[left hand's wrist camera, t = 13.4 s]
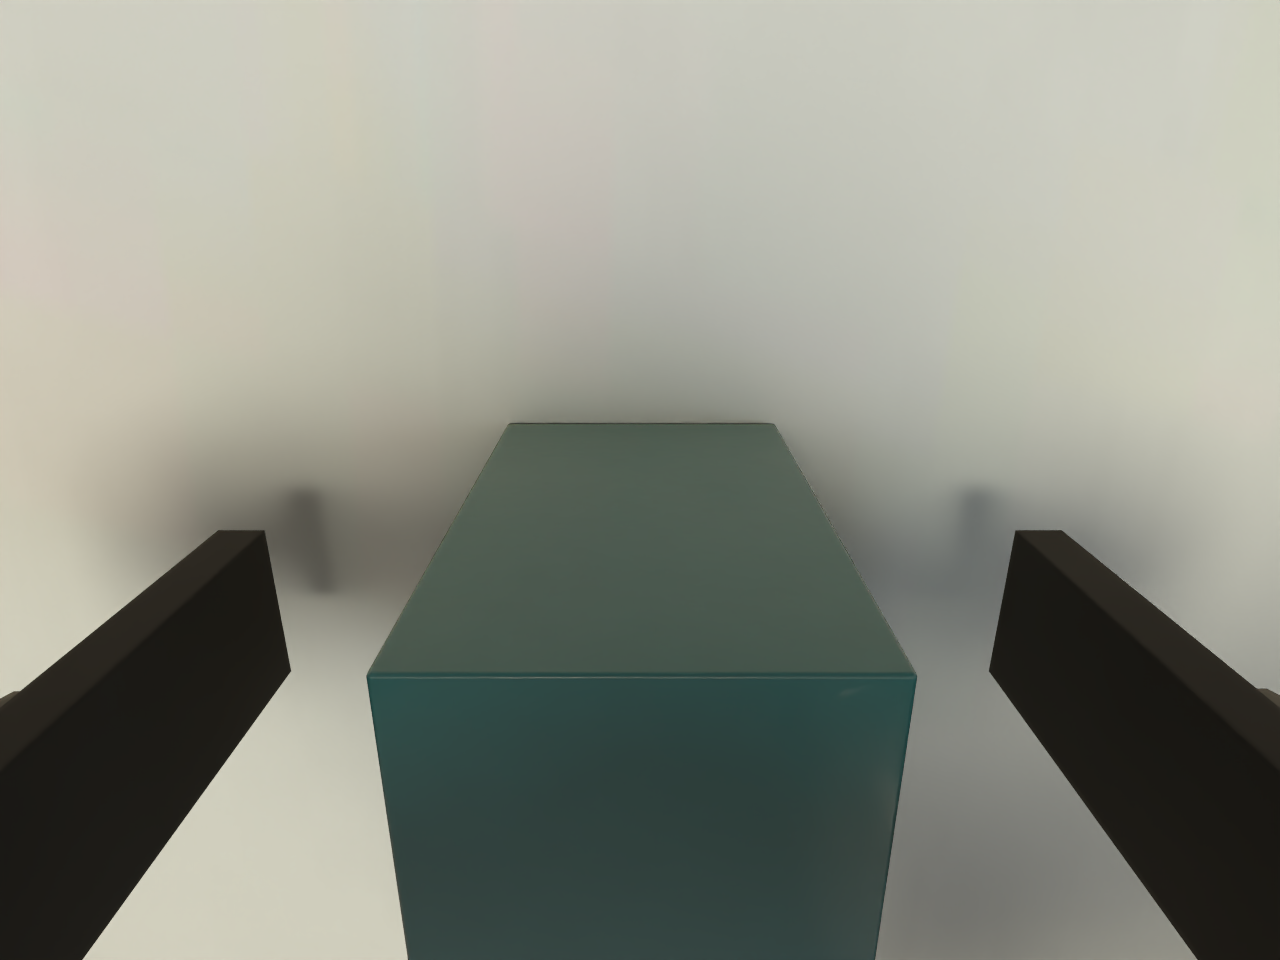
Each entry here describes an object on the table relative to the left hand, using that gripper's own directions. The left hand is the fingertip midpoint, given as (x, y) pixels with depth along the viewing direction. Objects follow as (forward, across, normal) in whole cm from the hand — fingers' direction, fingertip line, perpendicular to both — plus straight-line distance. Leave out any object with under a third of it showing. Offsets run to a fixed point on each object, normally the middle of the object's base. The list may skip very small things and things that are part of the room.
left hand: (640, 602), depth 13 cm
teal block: (+2, 0, 0) cm, 2 cm away
